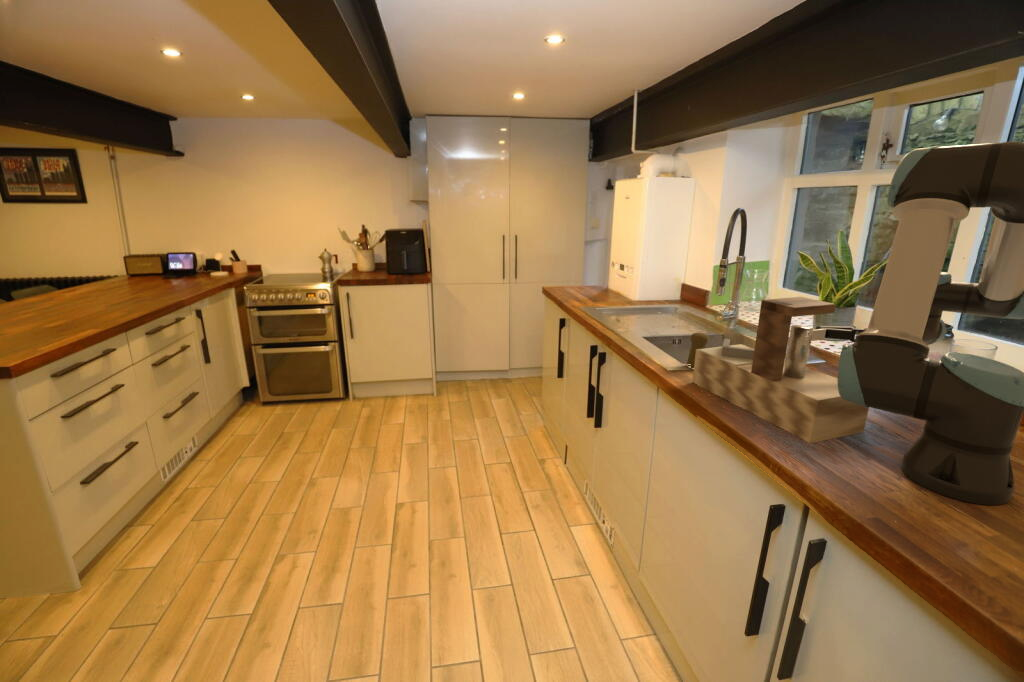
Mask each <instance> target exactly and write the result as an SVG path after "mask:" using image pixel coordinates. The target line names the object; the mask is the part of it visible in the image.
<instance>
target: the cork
mask: <svg viewBox="0 0 1024 682" xmlns="http://www.w3.org/2000/svg"><path fill="white" fill-rule="evenodd" d="M690 342H691V346H690V350H689V353H688V357H687V362H686V365H687V364H691V365H688V366H691V368H694V363H695V354H696V349H705V348H707V344H708V342H709V336H708V334H707V333H703V332H694V333H692V334H691V335H690Z"/></svg>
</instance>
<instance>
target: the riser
mask: <svg viewBox="0 0 1024 682" xmlns="http://www.w3.org/2000/svg"><path fill="white" fill-rule="evenodd" d="M739 345H741V346H744V347H747V348H750V349H754V348H753V347H750V346H747V345H745V344H741V343H740V344H739ZM698 350H699V349H696V354H695V363H694V370H693V373H692V374H693V375H692V382H693V384H694V383H695V384H694V385H696V384H697V385H696V386H698V387H700V388H703V389H704V390H706V391H708V392H709V393H712V394H713V395H716V396H717V395H718V397H719V396H720V397H719V398H721V397H722V398H721V399H723V398H724V399H723V400H725V399H726V400H725V401H727V400H728V402H729V401H730V402H729V403H730V404H733V405H735V406H737V407H739V408H741V407H742V408H741V409H743V410H744V409H745V411H746V410H747V411H746V412H748V411H749V413H750V412H751V414H752V413H753V415H754V414H755V416H756V415H757V417H758V418H760V419H762V420H764V421H766V422H768V423H770V424H772V425H773V424H774V426H775V425H776V427H777V426H778V427H777V428H779V427H780V429H781V428H782V429H781V430H783V429H784V430H783V431H785V430H786V432H787V431H788V432H787V433H789V432H790V433H789V434H791V433H792V435H793V434H794V435H793V436H795V435H796V436H795V437H797V436H798V437H797V438H799V439H800V438H801V439H800V440H802V439H803V440H802V441H805V442H807V443H808V444H814V443H818V442H823V441H827V440H832V439H833V440H834V439H836V438H837V439H838V438H841V437H847V436H851V435H857V434H862V433H863V432H864V431H865V427H866V421H867V418H868V417H867V416H868V413H869V408H870V407H867V408H866V407H864V406H863V405H859V404H856V403H852V402H848V401H846V400H844V399H843V398H842V397H841V396H840V395H839V392H838V384H837V377H835V376H831V375H828V374H826V373H823V372H820V371H817V370H814V369H812V368H809V367H807V366H806V372H805V377H804V378H802V379H795V378H790V377H787V376H785V375H783V373H784V367H785V361H786V359H785V361H784V367H783V373H782V379H781V380H780V381H774V382H773V381H770V380H768V379H765V378H763V377H761V376H758V375H756V374H753V373H751V370H752V364H748V365H740V366H734V365H732V364H729V363H727V362H725V361H722V360H720V359H717V358H715V357H713V356H710V355H708V354H705V353H703V352H701V351H698Z"/></svg>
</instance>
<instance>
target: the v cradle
mask: <svg viewBox="0 0 1024 682" xmlns="http://www.w3.org/2000/svg"><path fill="white" fill-rule="evenodd" d="M730 343H731V339H730V338H723V343H722V346H717V347H716V346H715V347H706V348H705V349H699V350H698V351H701V352H703V353H705V354H708V355H710V356H713V357H715V358H717V359H720V360H722V361H725V362H727V363H729V364H732V365H734V366H740V365H748V364H752V363H753V356H754V349H755V348H753V349H750V348H751V347H750V348H747V347H744V346H741V345H739V344H731V345H730Z"/></svg>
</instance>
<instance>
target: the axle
mask: <svg viewBox="0 0 1024 682" xmlns="http://www.w3.org/2000/svg"><path fill="white" fill-rule="evenodd" d="M813 330H814V327H812V326H809V325H803V324H791V325H790V331H789V337H788V343H787V349H786V355H785V360H786V361H785V367H784V373H783V375H785V376H787V377H790V378H795V379H802V378H804V377H805V372H806V367H807V366H808V365H807V364H808V360H809V355H810V349H811V348H810V347H811V343H812V341H811V338H812V333H813Z"/></svg>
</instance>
